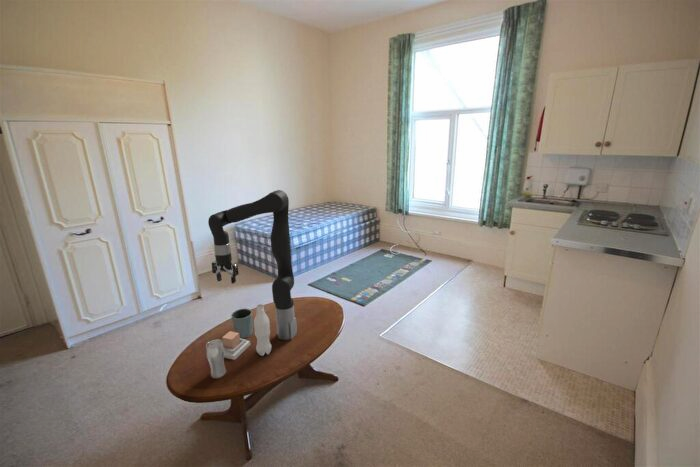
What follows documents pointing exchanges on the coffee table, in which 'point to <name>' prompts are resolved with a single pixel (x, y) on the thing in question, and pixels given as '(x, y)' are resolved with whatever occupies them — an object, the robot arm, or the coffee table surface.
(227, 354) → the grey stand
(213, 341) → the beer glass
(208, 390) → the coffee table surface
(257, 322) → the water bottle
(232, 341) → the terracotta block
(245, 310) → the teal cup
